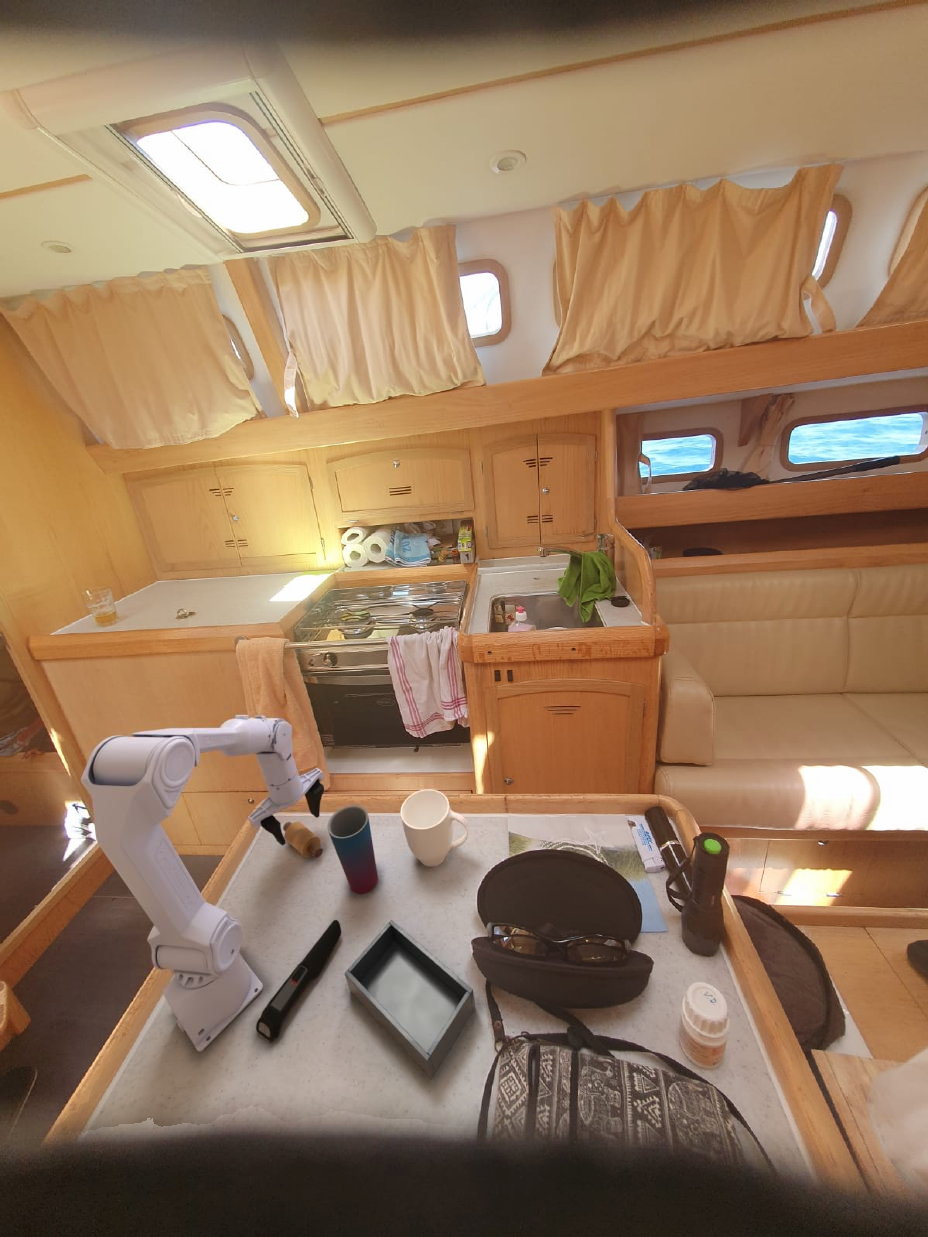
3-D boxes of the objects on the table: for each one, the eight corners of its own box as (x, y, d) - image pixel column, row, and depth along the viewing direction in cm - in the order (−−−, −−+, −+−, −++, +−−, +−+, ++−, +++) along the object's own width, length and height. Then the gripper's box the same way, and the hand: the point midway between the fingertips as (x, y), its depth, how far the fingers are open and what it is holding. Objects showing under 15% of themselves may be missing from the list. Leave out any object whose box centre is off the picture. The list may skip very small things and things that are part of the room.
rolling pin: (312, 868, 85) (307, 853, 83) (280, 839, 92) (275, 825, 90) (329, 852, 88) (325, 838, 86) (297, 826, 94) (293, 812, 93)
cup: (375, 857, 86) (360, 799, 80) (388, 885, 80) (374, 824, 74) (340, 876, 83) (322, 817, 77) (351, 907, 77) (333, 845, 71)
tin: (431, 1080, 56) (427, 1061, 54) (350, 991, 66) (344, 973, 64) (475, 1008, 62) (473, 989, 60) (395, 937, 72) (391, 919, 70)
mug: (405, 875, 82) (395, 827, 77) (414, 834, 90) (406, 789, 85) (468, 877, 80) (462, 829, 75) (472, 835, 88) (467, 789, 83)
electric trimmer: (349, 936, 73) (346, 924, 72) (273, 1046, 60) (267, 1033, 59) (332, 927, 75) (328, 914, 73) (255, 1031, 62) (248, 1018, 61)
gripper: (302, 744, 90) (318, 795, 95) (232, 790, 80) (253, 844, 85) (323, 757, 85) (338, 810, 91) (251, 808, 75) (273, 863, 81)
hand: (298, 828), depth 88 cm, fingers open, 7 cm apart
